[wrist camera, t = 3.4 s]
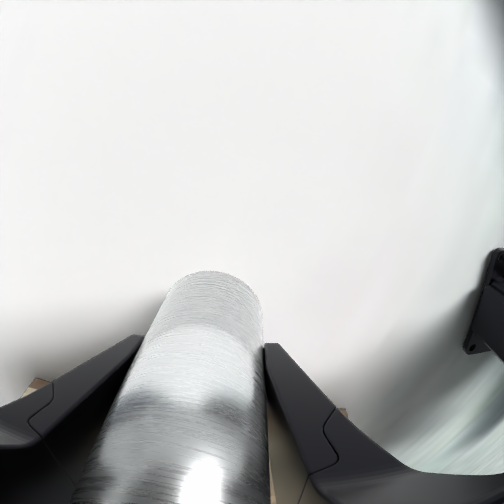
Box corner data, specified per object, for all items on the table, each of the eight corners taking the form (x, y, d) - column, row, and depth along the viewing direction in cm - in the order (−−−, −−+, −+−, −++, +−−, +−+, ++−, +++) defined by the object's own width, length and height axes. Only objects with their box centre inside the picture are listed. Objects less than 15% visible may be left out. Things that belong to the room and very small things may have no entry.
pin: (264, 272, 10) (288, 584, 2) (259, 358, 11) (265, 603, 3) (159, 268, 10) (12, 521, 2) (168, 353, 11) (97, 577, 3)
